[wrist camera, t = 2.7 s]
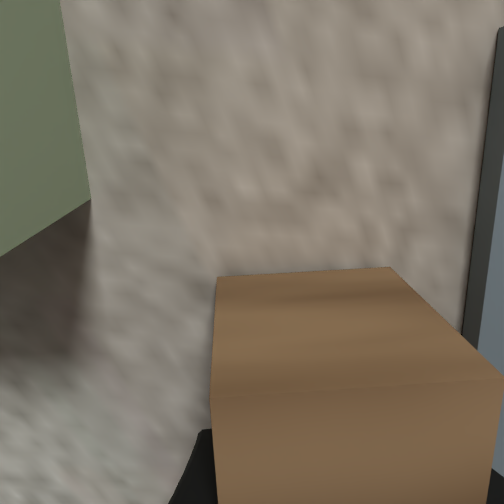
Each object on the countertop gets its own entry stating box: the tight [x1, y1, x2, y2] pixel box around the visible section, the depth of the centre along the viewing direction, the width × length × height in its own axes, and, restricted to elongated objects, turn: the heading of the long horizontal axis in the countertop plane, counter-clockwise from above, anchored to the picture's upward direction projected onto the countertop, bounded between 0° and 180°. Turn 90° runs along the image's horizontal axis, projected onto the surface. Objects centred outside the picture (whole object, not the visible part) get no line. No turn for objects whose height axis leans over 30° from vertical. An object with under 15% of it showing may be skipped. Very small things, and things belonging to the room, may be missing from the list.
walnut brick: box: [209, 267, 504, 504], centre depth 10 cm, size 9×4×5 cm, turn 2°
